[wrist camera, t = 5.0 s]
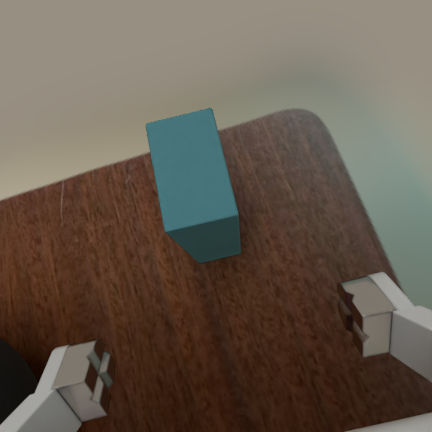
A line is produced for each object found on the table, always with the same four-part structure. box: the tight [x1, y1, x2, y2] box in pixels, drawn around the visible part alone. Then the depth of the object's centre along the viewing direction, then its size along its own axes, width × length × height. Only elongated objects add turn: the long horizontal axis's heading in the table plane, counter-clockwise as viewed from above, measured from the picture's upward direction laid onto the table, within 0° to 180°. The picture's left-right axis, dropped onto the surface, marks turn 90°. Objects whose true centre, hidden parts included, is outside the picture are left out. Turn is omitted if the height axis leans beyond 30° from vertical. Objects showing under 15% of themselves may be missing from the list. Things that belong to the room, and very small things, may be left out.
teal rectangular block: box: [146, 108, 241, 263], centre depth 18 cm, size 3×5×10 cm, turn 12°
